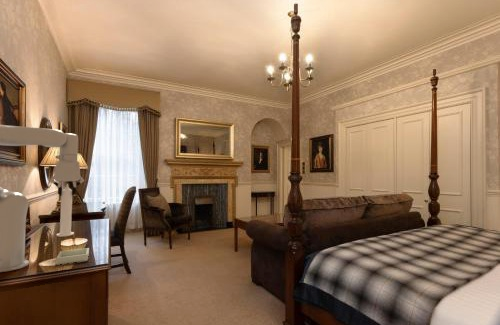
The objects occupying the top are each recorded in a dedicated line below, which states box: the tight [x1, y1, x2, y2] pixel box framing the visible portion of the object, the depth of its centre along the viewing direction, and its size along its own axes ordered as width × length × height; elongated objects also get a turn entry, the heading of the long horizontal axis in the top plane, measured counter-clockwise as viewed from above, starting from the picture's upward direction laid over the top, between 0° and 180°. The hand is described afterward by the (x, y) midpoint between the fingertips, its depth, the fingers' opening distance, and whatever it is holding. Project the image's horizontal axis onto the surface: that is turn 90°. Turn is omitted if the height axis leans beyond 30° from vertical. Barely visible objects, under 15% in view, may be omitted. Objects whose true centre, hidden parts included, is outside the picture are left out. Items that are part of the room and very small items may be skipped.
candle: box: [55, 183, 75, 237], centre depth 131 cm, size 7×7×25 cm
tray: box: [55, 247, 90, 266], centre depth 123 cm, size 12×12×3 cm
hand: (66, 195), depth 131 cm, fingers closed on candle, 4 cm apart
